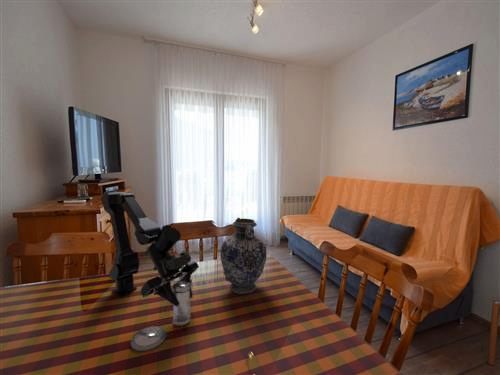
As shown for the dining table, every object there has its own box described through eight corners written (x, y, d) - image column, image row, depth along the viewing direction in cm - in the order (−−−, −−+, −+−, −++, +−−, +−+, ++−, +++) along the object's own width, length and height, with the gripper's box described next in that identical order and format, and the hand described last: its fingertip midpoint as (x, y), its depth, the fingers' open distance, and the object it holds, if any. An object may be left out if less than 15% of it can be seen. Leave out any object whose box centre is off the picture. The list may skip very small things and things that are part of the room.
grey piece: (169, 322, 71) (169, 286, 70) (181, 313, 76) (181, 279, 75) (182, 328, 69) (182, 290, 68) (193, 318, 73) (193, 283, 73)
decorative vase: (215, 278, 102) (217, 215, 100) (255, 274, 107) (257, 214, 106) (225, 305, 81) (228, 227, 79) (274, 298, 87) (277, 225, 85)
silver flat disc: (123, 344, 62) (123, 340, 62) (150, 324, 71) (150, 321, 70) (146, 356, 59) (146, 351, 58) (172, 334, 67) (172, 330, 67)
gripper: (146, 253, 65) (171, 304, 60) (195, 238, 81) (219, 277, 75) (131, 273, 70) (153, 322, 65) (180, 255, 85) (201, 293, 80)
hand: (184, 301), depth 71 cm, fingers closed on grey piece, 5 cm apart
